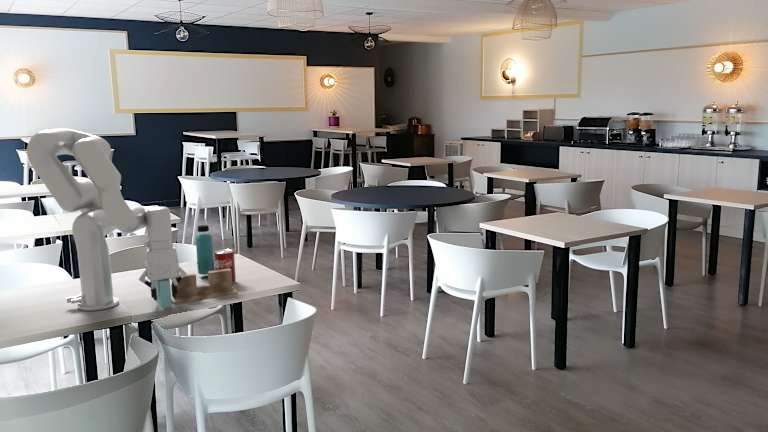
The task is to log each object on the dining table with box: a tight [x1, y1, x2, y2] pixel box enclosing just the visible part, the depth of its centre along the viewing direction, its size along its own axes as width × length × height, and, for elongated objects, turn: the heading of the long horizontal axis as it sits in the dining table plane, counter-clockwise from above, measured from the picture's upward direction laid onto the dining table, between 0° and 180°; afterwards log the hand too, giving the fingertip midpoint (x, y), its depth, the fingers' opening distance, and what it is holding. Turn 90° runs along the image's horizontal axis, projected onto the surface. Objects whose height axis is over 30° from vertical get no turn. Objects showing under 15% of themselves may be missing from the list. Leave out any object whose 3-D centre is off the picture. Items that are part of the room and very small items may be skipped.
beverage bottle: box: [195, 224, 215, 276], centre depth 253 cm, size 6×7×20 cm
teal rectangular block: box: [155, 279, 173, 309], centre depth 223 cm, size 3×14×9 cm, turn 28°
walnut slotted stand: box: [171, 269, 239, 304], centre depth 229 cm, size 22×8×8 cm, turn 118°
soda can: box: [213, 248, 237, 285], centre depth 244 cm, size 7×7×12 cm
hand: (164, 297), depth 220 cm, fingers open, 5 cm apart
